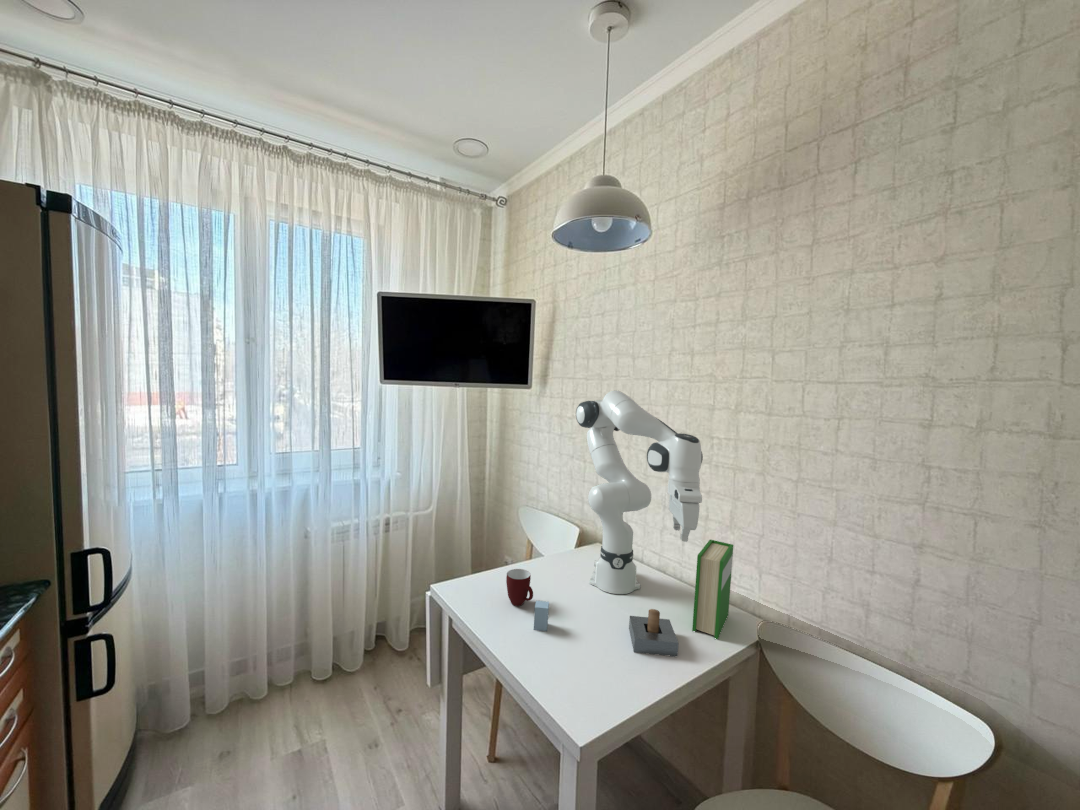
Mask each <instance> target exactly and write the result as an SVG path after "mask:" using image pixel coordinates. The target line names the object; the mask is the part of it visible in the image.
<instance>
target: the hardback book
mask: <svg viewBox="0 0 1080 810" xmlns="http://www.w3.org/2000/svg"><path fill="white" fill-rule="evenodd" d="M733 555H734V544H732V543H728V542H723V541H718V540H714V539H709V540H708V541H707V543H706V544H705V545H704V546H703V548H702V549H701V550H700V552H699V553H698V554H697V559H696V573H695V586H694V587H695V588H694V599H693V600H694V601H693V616H692V629H691V631H692V632H693V631H696V632H697V630H698V631H701V632H703V633H707V634H709V635H712V636H713V637H714V638H716V639H718V640H719V638H720V636H719V635H721V633H722V631H723V629H722V628H724V626H725V624H726V622H727V619H728V617H727V616H729V611H730V610H729V609H730V595H731V583H732V582H731V581H732V570H733V569H732V567H733V557H734V556H733ZM726 618H727V619H726ZM725 621H726V622H725ZM724 623H725V624H724ZM723 625H724V626H723ZM696 629H697V630H696ZM721 630H722V631H721ZM720 632H721V633H720ZM718 637H719V638H718ZM716 639H715V640H716Z"/></svg>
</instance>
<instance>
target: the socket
mask: <svg viewBox="0 0 1080 810" xmlns="http://www.w3.org/2000/svg"><path fill="white" fill-rule="evenodd" d="M628 619H629V620H628V621H629V622H628V630H629V634H630V635H629V636H630V640H631V645H632V649H633V650H632V651H633V653H635V654H637V653H639V654H646V653H649V654H648V655H655V654H659V655H658V656H665V655H670V656H669V657H675V656H678V654H679V641H678V638H677V636H676V632H675V631H674V627H673V626H672V622H671V619H669V618H667V619H666V618H660V619H659V633H649V632H647V627H648V616H640V615H639V616H636V615H629V618H628Z"/></svg>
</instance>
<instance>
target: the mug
mask: <svg viewBox="0 0 1080 810" xmlns="http://www.w3.org/2000/svg"><path fill="white" fill-rule="evenodd" d="M505 579H506V580H505V581H506V583H505V584H506V589H507V597H508V599H509V601H510V603H511V604H512V606H516V607H519V606H523V604H524V603H525V602H530V601H531V600H532V599H533V598H534V591H533V587H532V586H530V585H531V579H532V577H531V572H530V571H529V570H527V569H523V568H514V569H513V568H512V569H510V570H508V571H507V572H506V578H505ZM528 596H529V597H528Z"/></svg>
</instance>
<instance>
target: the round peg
mask: <svg viewBox="0 0 1080 810" xmlns="http://www.w3.org/2000/svg"><path fill="white" fill-rule="evenodd" d="M660 612H661V611H659V610H657V609H654V608H650V609H648V615H647V617H648V627H647V632H649V633H659V619H661V618H660V616H661V613H660Z"/></svg>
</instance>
